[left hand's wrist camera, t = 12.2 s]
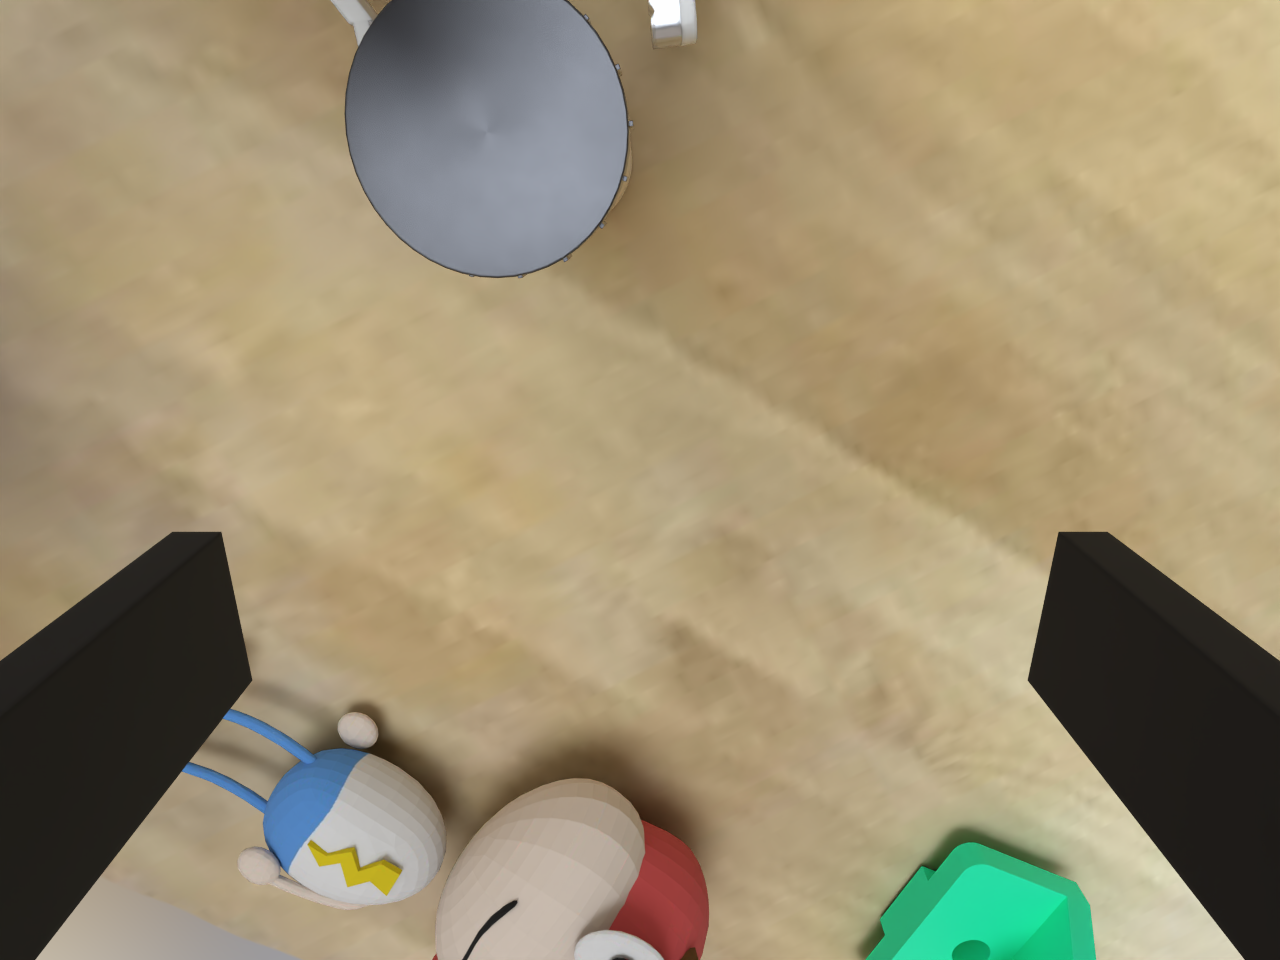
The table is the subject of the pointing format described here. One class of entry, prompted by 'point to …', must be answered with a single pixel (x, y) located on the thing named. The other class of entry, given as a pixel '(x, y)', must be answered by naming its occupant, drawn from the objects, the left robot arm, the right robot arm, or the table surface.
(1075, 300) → the table surface
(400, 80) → the lid
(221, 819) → the table surface
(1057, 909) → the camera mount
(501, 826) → the toy
